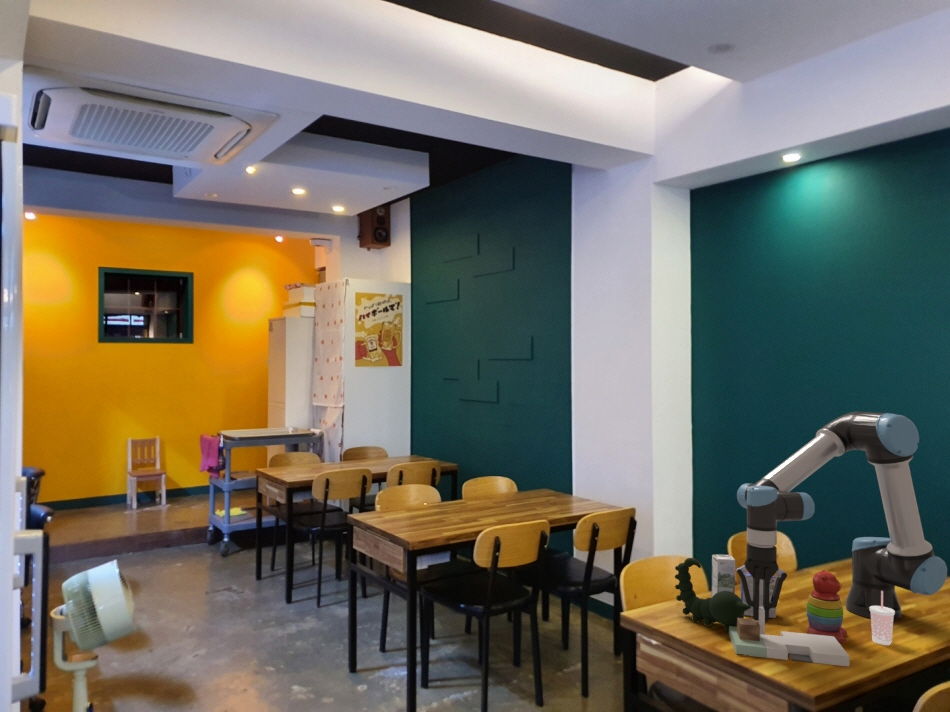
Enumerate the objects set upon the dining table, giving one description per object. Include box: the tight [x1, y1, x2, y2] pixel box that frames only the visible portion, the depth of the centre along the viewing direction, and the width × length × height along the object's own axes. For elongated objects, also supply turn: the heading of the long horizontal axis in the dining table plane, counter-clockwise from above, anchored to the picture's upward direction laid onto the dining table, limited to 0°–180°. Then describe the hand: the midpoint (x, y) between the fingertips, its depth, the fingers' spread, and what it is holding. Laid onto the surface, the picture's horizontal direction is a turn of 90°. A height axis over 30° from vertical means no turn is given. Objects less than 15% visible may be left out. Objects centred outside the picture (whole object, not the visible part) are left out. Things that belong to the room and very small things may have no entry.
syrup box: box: [710, 554, 736, 598], centre depth 224 cm, size 6×6×14 cm
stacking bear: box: [805, 569, 848, 645], centre depth 196 cm, size 11×10×18 cm
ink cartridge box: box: [740, 571, 777, 619], centre depth 212 cm, size 10×6×14 cm, turn 78°
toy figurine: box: [674, 557, 750, 634], centre depth 202 cm, size 9×19×25 cm
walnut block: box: [737, 617, 760, 641], centre depth 186 cm, size 5×5×4 cm
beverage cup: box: [869, 591, 895, 646], centre depth 192 cm, size 6×6×14 cm
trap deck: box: [728, 626, 850, 667], centre depth 184 cm, size 27×14×2 cm, turn 77°
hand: (760, 632), depth 185 cm, fingers closed
